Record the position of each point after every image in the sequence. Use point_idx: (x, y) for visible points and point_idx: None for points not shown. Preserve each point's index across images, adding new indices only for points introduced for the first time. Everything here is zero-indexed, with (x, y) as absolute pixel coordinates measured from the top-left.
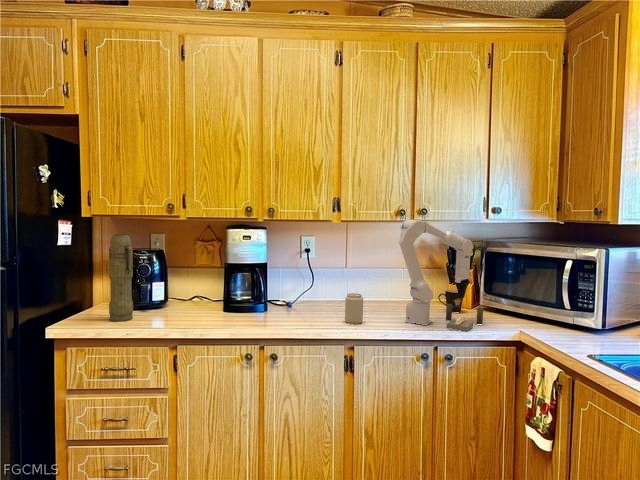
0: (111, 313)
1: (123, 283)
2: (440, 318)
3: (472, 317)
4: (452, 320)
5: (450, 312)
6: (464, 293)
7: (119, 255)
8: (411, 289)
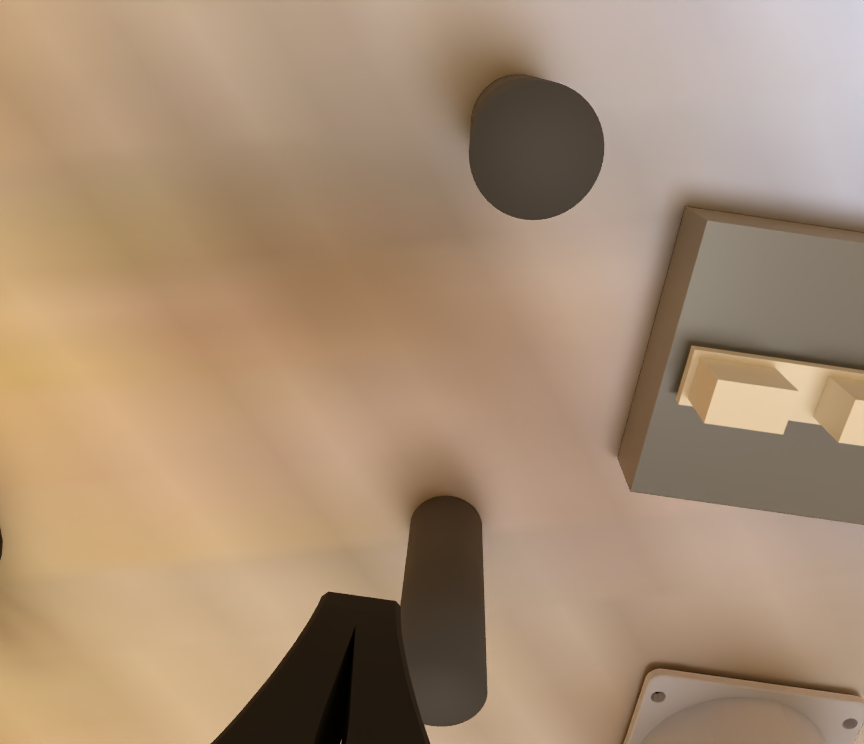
0: None
1: None
2: None
3: (79, 267)
4: (730, 496)
5: (475, 580)
6: (396, 665)
7: None
8: None
